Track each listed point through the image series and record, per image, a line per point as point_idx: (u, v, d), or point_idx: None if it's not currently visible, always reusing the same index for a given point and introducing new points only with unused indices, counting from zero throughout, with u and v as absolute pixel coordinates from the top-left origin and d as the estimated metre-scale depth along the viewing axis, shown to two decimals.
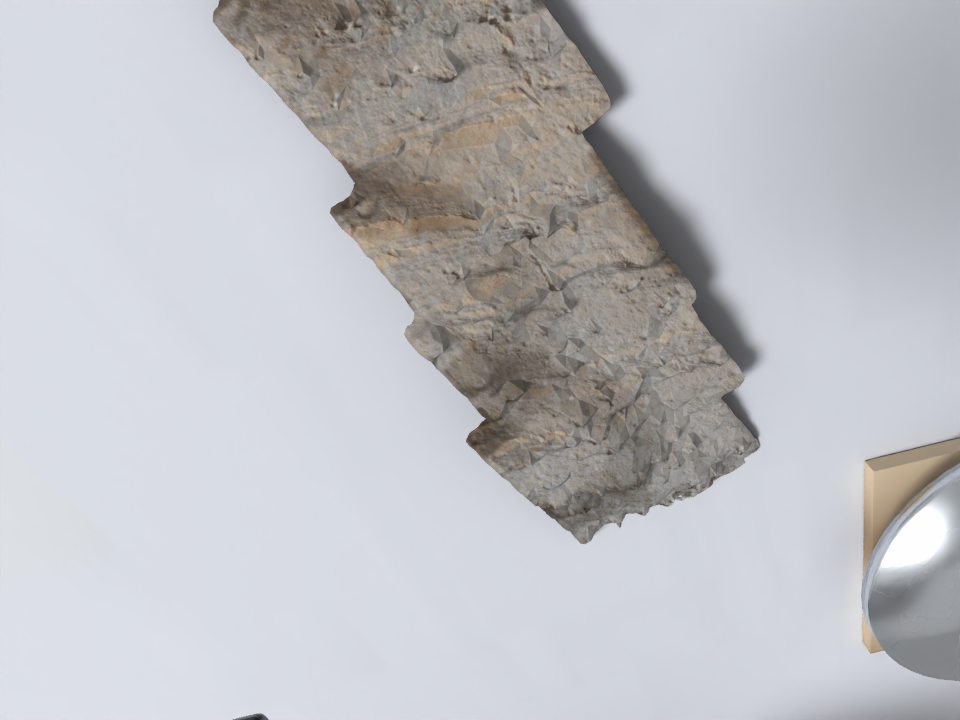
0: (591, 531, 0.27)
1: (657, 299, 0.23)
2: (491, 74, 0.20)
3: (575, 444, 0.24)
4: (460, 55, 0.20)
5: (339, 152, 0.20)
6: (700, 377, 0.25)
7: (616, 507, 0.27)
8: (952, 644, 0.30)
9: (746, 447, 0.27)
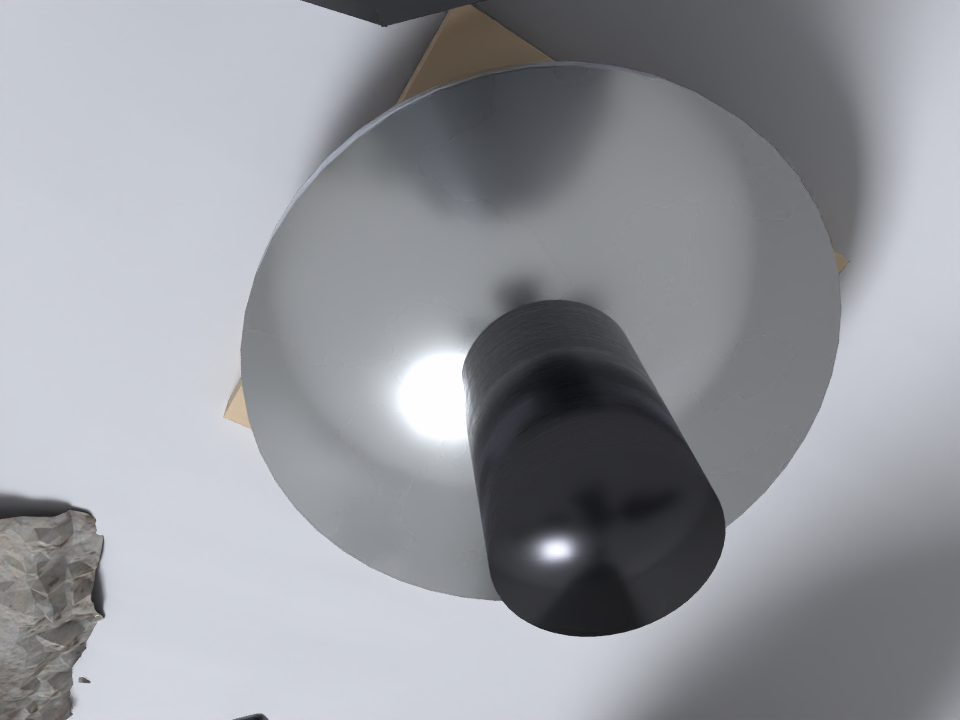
0: None
1: None
2: None
3: None
4: None
5: None
6: None
7: (7, 692, 0.19)
8: None
9: (53, 537, 0.18)
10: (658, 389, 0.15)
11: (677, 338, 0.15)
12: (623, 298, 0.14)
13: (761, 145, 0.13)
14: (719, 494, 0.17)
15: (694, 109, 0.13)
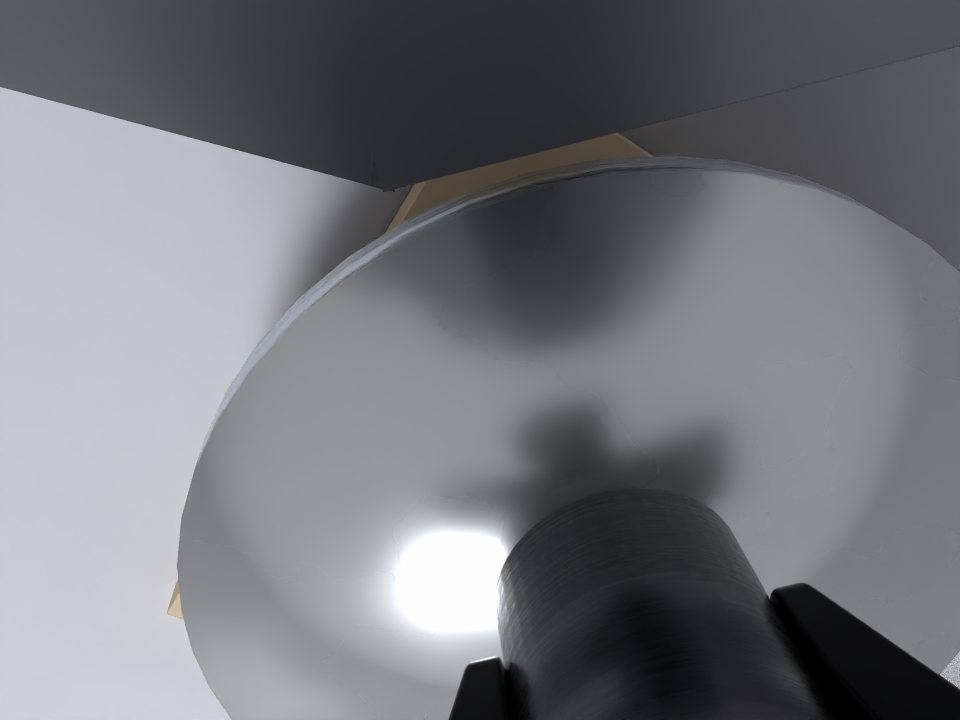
0: None
1: None
2: None
3: None
4: None
5: None
6: None
7: None
8: None
9: None
10: None
11: (803, 532, 0.10)
12: (731, 484, 0.10)
13: (950, 277, 0.09)
14: None
15: (857, 229, 0.08)
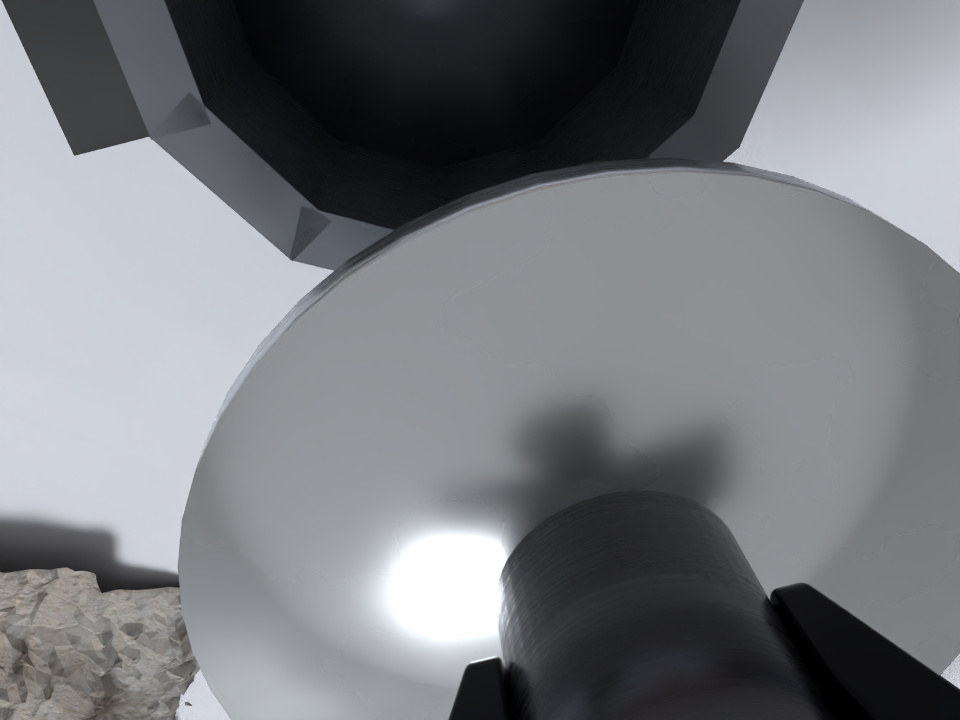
0: None
1: None
2: None
3: (0, 717, 0.24)
4: None
5: None
6: (58, 594, 0.24)
7: (138, 711, 0.26)
8: None
9: None
10: None
11: (803, 534, 0.10)
12: (732, 486, 0.10)
13: (950, 279, 0.09)
14: None
15: (857, 231, 0.08)
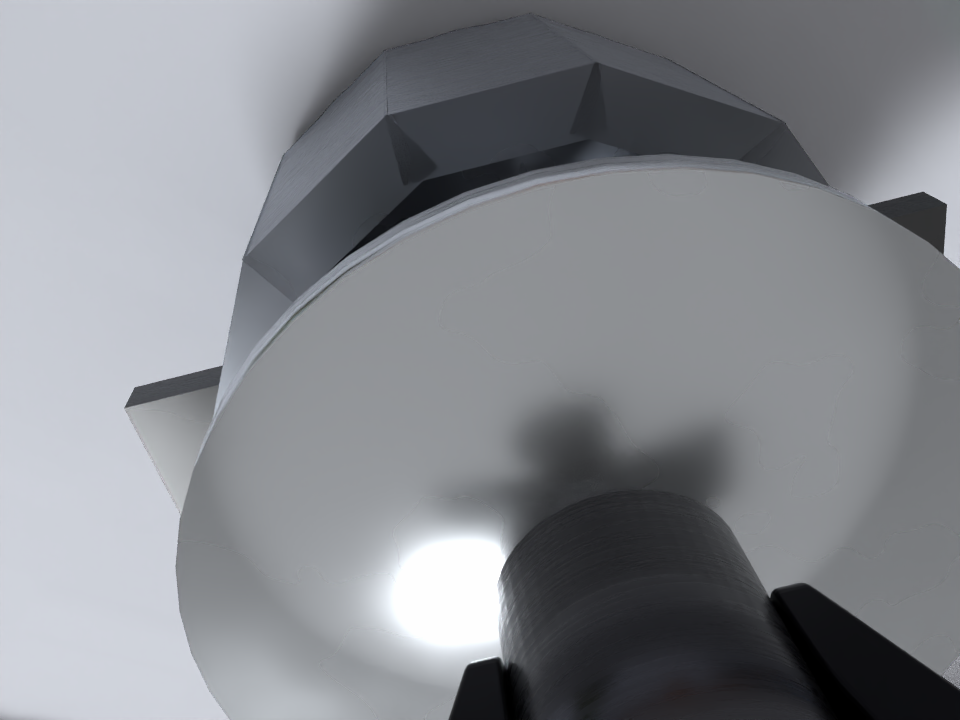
0: None
1: None
2: None
3: None
4: None
5: None
6: None
7: None
8: None
9: None
10: None
11: (804, 533, 0.10)
12: (732, 486, 0.10)
13: (952, 277, 0.09)
14: None
15: (859, 228, 0.08)
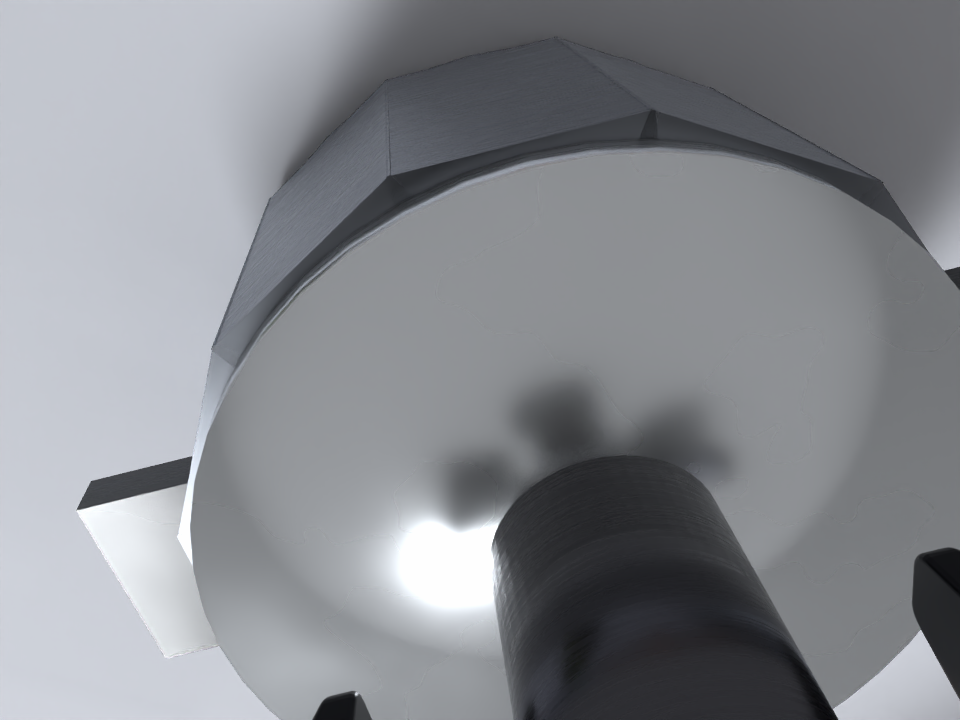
0: None
1: None
2: None
3: None
4: None
5: None
6: None
7: None
8: None
9: None
10: (751, 559, 0.11)
11: (780, 498, 0.11)
12: (712, 451, 0.10)
13: (915, 254, 0.09)
14: (821, 677, 0.13)
15: (826, 208, 0.09)
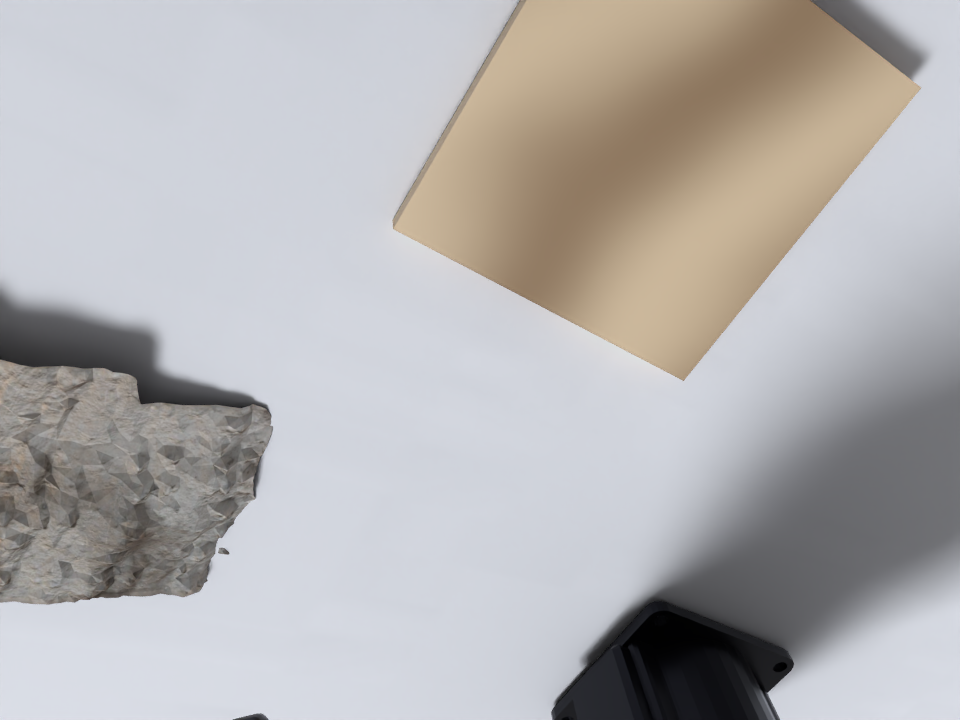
0: (185, 580, 0.24)
1: None
2: None
3: (17, 543, 0.21)
4: None
5: None
6: (91, 402, 0.21)
7: (171, 552, 0.23)
8: None
9: (239, 424, 0.22)
10: None
11: None
12: None
13: None
14: None
15: None
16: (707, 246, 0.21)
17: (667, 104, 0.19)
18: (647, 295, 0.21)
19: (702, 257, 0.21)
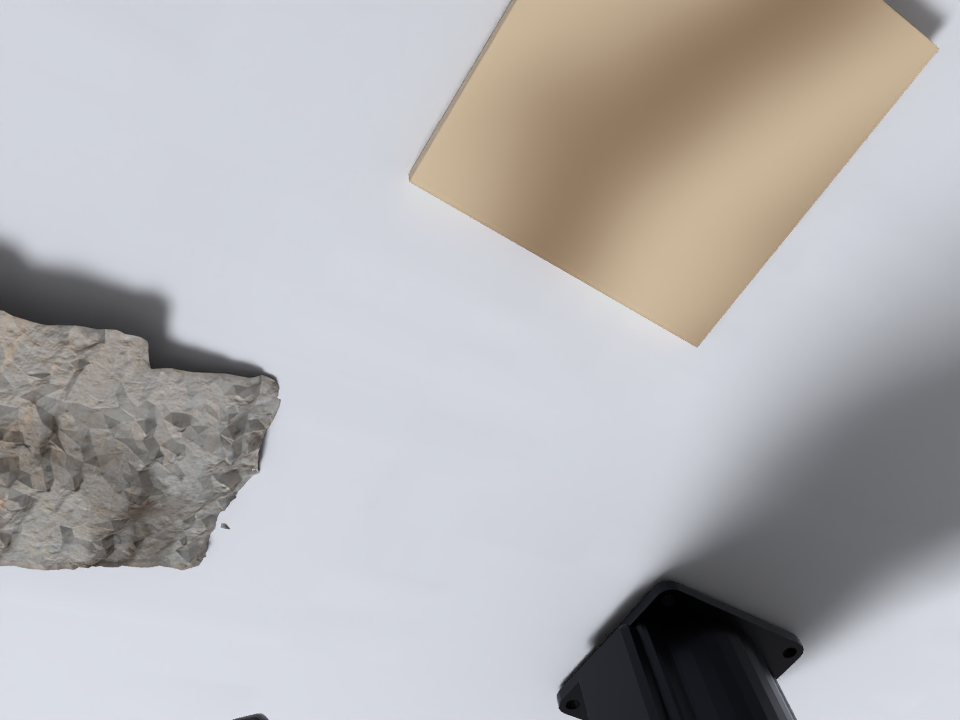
0: (185, 553, 0.24)
1: None
2: None
3: (19, 504, 0.21)
4: None
5: None
6: (101, 364, 0.21)
7: (172, 523, 0.23)
8: None
9: (247, 394, 0.22)
10: None
11: None
12: None
13: None
14: None
15: None
16: (723, 207, 0.21)
17: (686, 59, 0.19)
18: (662, 257, 0.21)
19: (718, 219, 0.21)
